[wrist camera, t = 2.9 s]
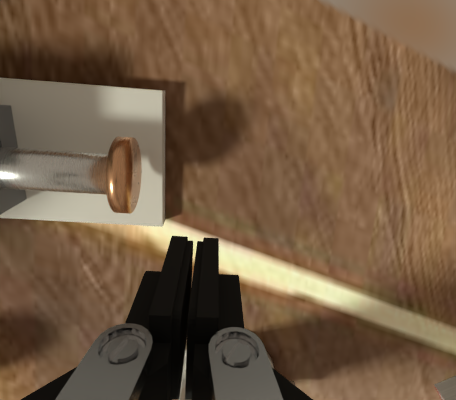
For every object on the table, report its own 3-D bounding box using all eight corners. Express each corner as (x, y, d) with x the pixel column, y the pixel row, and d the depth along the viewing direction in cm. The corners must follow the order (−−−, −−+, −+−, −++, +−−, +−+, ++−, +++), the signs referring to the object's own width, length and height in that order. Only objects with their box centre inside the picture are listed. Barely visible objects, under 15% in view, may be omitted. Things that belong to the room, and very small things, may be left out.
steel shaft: (140, 132, 24) (118, 145, 19) (142, 198, 26) (123, 226, 21) (-51, 118, 23) (-128, 128, 18) (-34, 187, 25) (-100, 214, 20)
